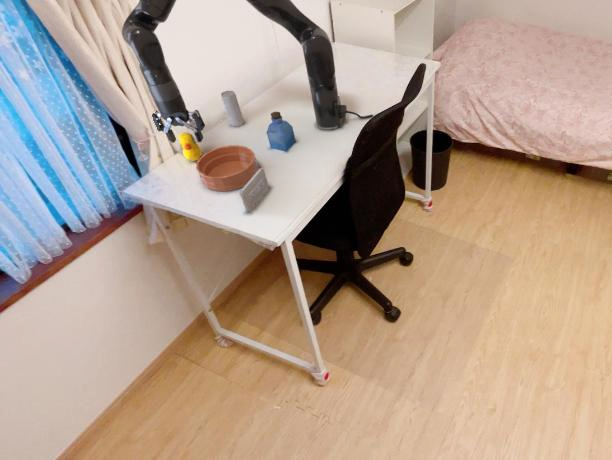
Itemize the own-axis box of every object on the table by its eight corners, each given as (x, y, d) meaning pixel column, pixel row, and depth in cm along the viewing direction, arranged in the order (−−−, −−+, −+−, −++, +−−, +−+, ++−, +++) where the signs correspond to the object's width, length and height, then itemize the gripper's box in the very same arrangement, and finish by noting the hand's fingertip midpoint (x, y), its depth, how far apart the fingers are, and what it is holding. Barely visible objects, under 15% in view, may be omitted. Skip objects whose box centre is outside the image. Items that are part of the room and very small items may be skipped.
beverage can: (240, 128, 158) (230, 97, 149) (228, 126, 158) (217, 96, 150) (246, 121, 161) (237, 91, 153) (235, 119, 162) (225, 89, 153)
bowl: (264, 159, 144) (260, 145, 140) (250, 192, 132) (245, 177, 128) (213, 159, 144) (207, 145, 140) (194, 192, 131) (187, 177, 128)
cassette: (265, 187, 133) (259, 166, 128) (271, 188, 133) (264, 167, 128) (245, 212, 125) (237, 191, 120) (251, 213, 125) (243, 193, 119)
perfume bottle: (296, 141, 151) (288, 111, 143) (286, 151, 147) (278, 120, 139) (280, 138, 153) (272, 107, 144) (270, 148, 148) (262, 116, 140)
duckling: (205, 166, 141) (194, 139, 134) (187, 170, 139) (175, 143, 132) (202, 148, 148) (191, 122, 141) (185, 151, 147) (173, 125, 140)
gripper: (136, 101, 125) (160, 148, 136) (185, 100, 125) (205, 147, 136) (147, 88, 130) (170, 135, 142) (194, 88, 130) (213, 134, 142)
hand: (187, 141), depth 139 cm, fingers open, 8 cm apart
